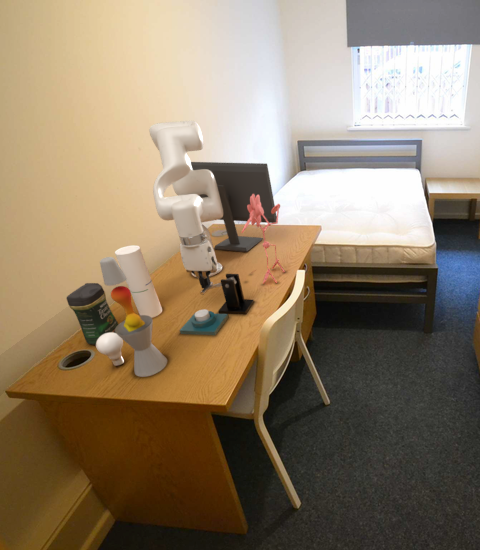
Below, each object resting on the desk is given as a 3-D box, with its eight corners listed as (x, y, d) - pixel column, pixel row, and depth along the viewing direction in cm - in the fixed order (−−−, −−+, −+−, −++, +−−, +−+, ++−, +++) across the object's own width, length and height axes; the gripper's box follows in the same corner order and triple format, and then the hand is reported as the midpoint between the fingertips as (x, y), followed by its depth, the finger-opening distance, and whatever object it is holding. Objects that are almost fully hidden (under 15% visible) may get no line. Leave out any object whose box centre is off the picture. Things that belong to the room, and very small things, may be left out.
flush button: (193, 321, 120) (191, 316, 119) (200, 314, 124) (198, 309, 123) (206, 322, 120) (204, 317, 119) (212, 314, 123) (211, 309, 122)
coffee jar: (107, 346, 115) (83, 296, 106) (83, 346, 115) (57, 297, 106) (125, 327, 123) (105, 280, 114) (103, 327, 124) (80, 280, 115)
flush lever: (201, 296, 127) (198, 291, 126) (211, 286, 133) (208, 280, 132) (231, 288, 124) (228, 282, 123) (239, 278, 130) (236, 273, 129)
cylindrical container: (166, 309, 133) (144, 246, 121) (150, 320, 127) (126, 255, 115) (151, 305, 135) (128, 244, 123) (135, 316, 129) (109, 253, 117)
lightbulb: (114, 357, 110) (100, 328, 105) (135, 356, 110) (122, 327, 105) (102, 372, 105) (87, 342, 99) (125, 371, 105) (111, 341, 100)
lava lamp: (128, 367, 106) (79, 260, 89) (160, 351, 112) (120, 248, 95) (140, 382, 101) (90, 271, 84) (173, 364, 107) (133, 257, 90)
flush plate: (180, 334, 119) (177, 325, 118) (196, 316, 128) (193, 308, 126) (215, 335, 118) (212, 326, 117) (228, 317, 127) (226, 309, 125)
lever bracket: (218, 313, 129) (210, 282, 123) (228, 301, 136) (221, 271, 130) (245, 314, 128) (238, 283, 122) (254, 302, 135) (247, 272, 129)
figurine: (293, 263, 162) (282, 185, 145) (271, 293, 140) (255, 206, 123) (260, 261, 164) (245, 184, 147) (234, 291, 142) (213, 205, 125)
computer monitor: (286, 241, 184) (274, 160, 165) (272, 254, 170) (257, 168, 151) (210, 235, 193) (190, 158, 174) (191, 248, 180) (167, 165, 160)
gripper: (219, 234, 122) (231, 281, 131) (177, 234, 124) (191, 280, 133) (208, 243, 116) (221, 292, 124) (164, 242, 117) (180, 291, 126)
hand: (206, 286), depth 129 cm, fingers closed
